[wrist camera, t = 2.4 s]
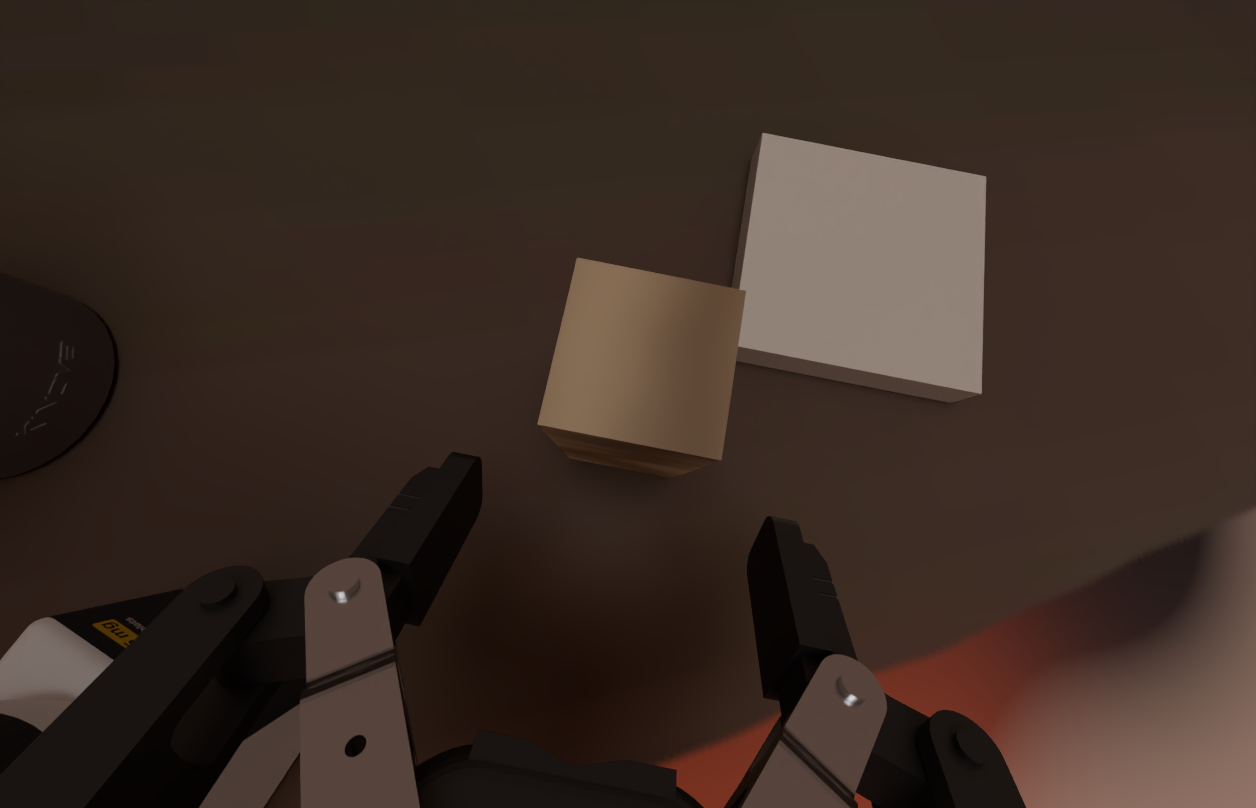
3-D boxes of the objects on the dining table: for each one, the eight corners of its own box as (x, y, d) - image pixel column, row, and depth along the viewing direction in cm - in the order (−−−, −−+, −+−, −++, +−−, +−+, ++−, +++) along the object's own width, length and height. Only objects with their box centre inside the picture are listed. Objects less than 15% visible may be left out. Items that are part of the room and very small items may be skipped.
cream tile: (720, 358, 23) (731, 345, 21) (751, 161, 26) (762, 133, 24) (949, 402, 23) (981, 393, 21) (957, 201, 26) (986, 176, 24)
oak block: (569, 458, 22) (537, 424, 12) (590, 361, 23) (577, 257, 13) (670, 478, 22) (721, 460, 12) (687, 380, 23) (746, 290, 13)
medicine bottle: (361, 661, 20) (-9, 904, 8) (251, 831, 18) (-405, 1437, 6) (230, 575, 20) (-302, 681, 8) (112, 733, 19) (-729, 1128, 7)
